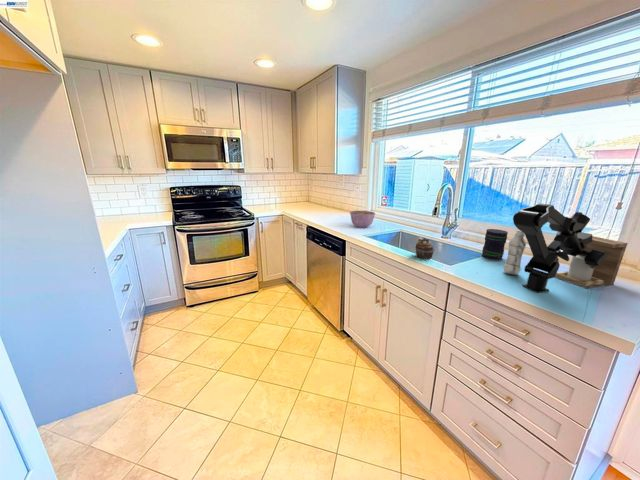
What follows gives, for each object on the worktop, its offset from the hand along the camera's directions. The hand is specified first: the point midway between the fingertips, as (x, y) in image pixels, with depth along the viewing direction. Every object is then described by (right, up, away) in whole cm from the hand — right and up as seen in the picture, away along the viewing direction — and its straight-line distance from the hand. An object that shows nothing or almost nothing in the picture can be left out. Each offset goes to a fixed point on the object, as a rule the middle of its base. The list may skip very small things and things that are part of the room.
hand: (580, 264), depth 115 cm
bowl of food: (-79, +21, +101) cm, 130 cm away
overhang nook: (+3, -7, +3) cm, 8 cm away
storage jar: (-18, +1, +31) cm, 36 cm away
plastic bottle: (-24, -5, +9) cm, 26 cm away
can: (+1, -7, +2) cm, 8 cm away
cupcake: (-56, +1, +30) cm, 64 cm away
